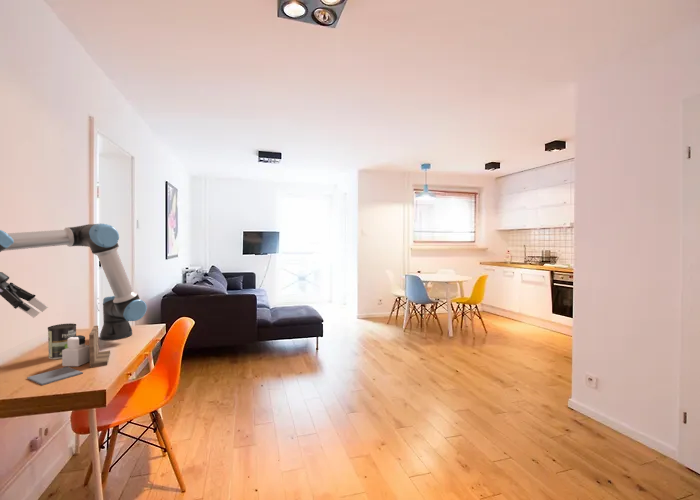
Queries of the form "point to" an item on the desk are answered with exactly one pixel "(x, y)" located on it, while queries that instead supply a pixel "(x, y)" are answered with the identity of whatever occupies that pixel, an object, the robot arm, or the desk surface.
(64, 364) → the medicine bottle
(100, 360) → the walnut backboard
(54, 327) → the coffee can
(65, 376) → the charcoal mat
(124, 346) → the desk surface
